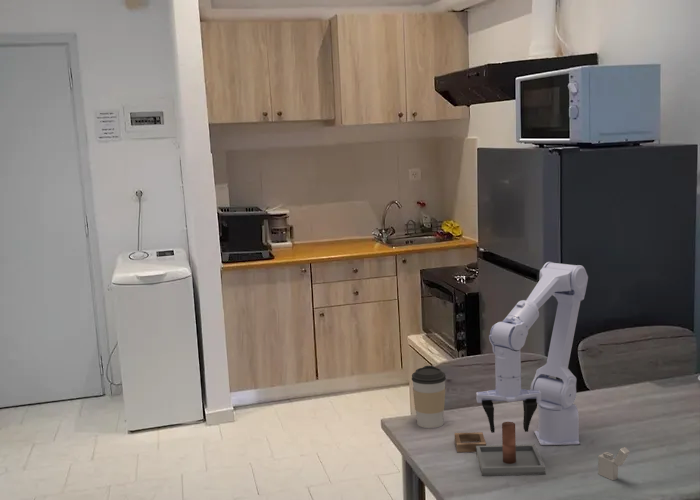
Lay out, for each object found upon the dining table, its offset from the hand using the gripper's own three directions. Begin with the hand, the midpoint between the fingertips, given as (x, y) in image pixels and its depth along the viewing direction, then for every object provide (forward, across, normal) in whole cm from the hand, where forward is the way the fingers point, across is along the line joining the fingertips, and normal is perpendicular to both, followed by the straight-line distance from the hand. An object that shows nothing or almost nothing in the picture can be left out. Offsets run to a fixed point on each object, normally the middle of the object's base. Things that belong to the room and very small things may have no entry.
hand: (509, 430), depth 169 cm
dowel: (+7, 0, 0) cm, 7 cm away
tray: (+8, 0, 0) cm, 8 cm away
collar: (+8, -8, +10) cm, 15 cm away
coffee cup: (+8, -17, +25) cm, 31 cm away
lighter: (+8, +21, -9) cm, 24 cm away
